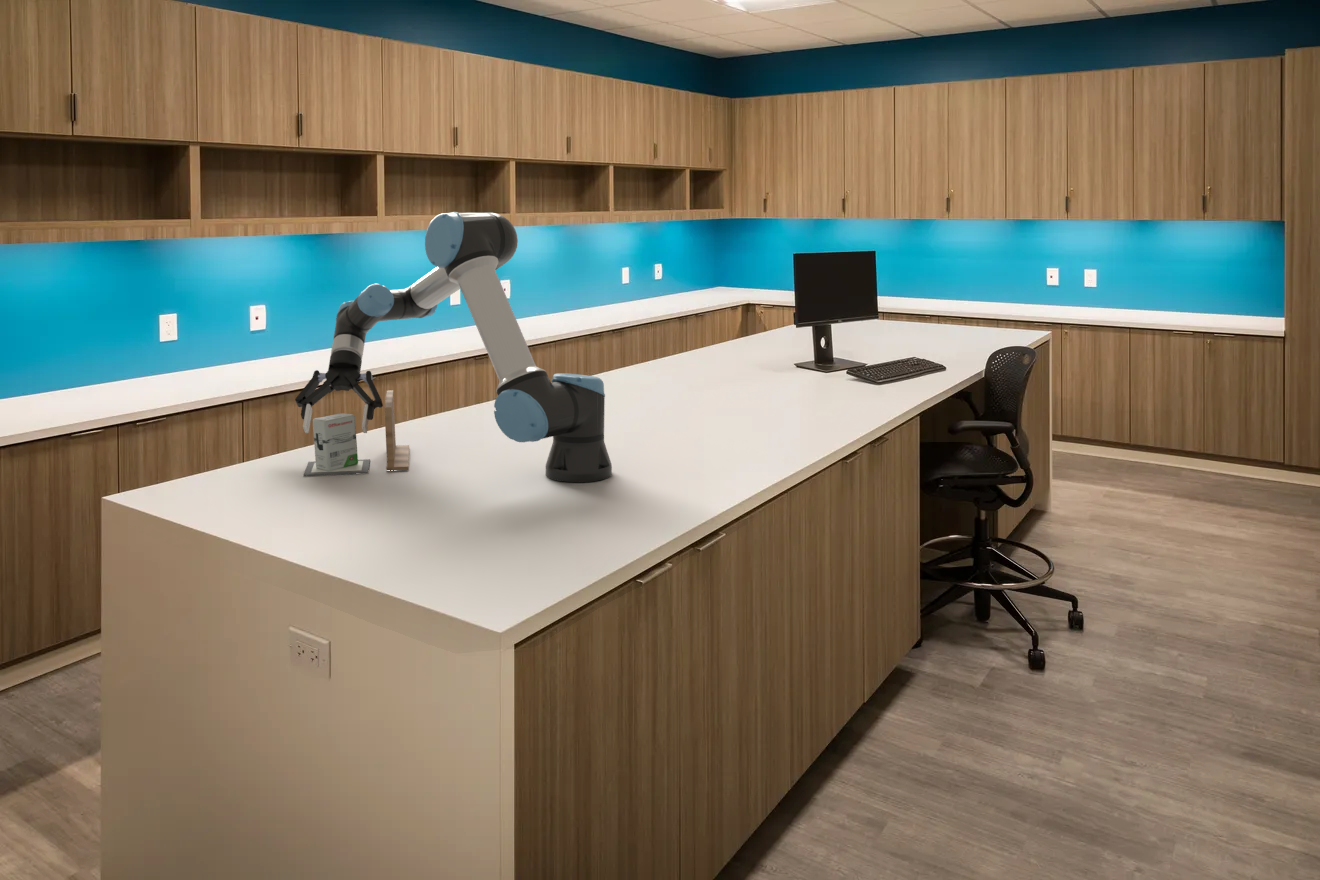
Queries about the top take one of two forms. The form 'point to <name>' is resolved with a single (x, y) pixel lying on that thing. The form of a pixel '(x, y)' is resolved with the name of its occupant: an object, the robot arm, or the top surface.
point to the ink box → (335, 441)
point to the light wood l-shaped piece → (395, 453)
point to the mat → (353, 469)
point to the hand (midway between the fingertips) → (334, 430)
